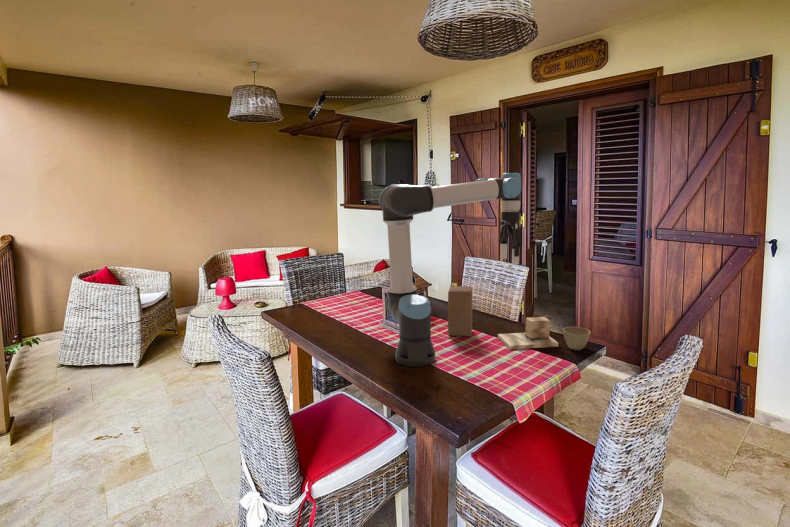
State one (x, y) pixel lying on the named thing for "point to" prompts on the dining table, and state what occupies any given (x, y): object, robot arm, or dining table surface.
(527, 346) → the board
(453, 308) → the wooden block
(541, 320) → the sanding block
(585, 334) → the flower pot
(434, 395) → the dining table surface
